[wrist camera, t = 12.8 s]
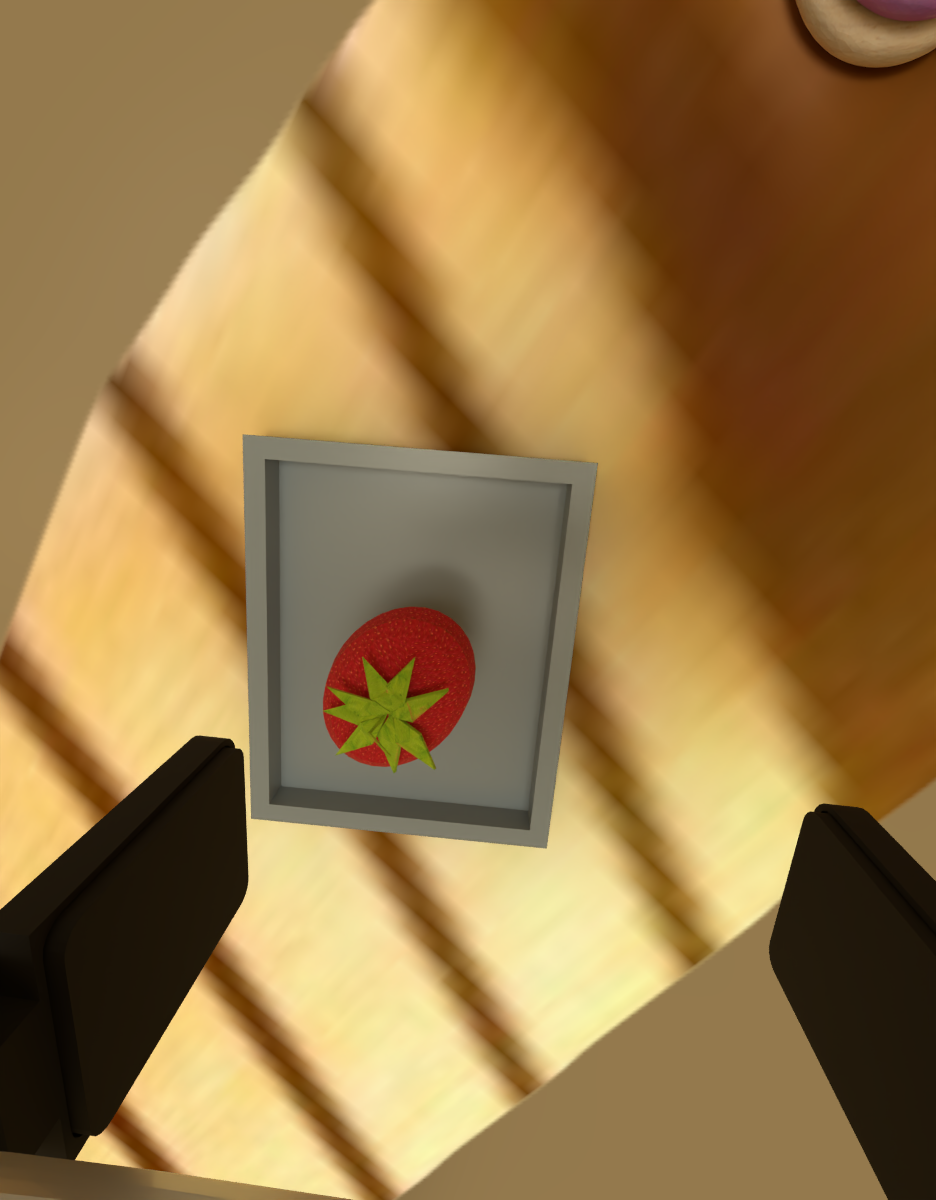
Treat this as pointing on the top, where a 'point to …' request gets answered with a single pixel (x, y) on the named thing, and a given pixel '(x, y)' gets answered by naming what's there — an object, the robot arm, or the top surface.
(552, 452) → the top surface
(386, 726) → the strawberry
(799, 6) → the stacking toy
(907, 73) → the top surface
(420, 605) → the tray
